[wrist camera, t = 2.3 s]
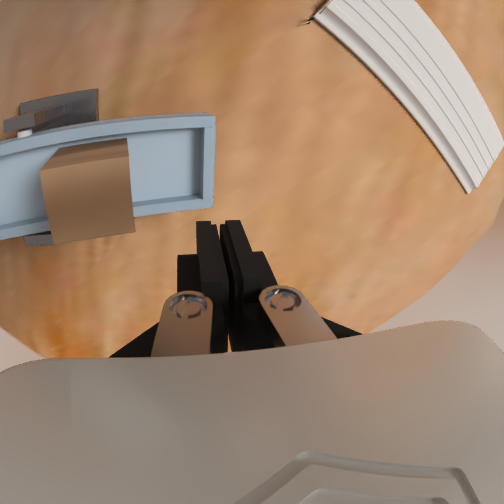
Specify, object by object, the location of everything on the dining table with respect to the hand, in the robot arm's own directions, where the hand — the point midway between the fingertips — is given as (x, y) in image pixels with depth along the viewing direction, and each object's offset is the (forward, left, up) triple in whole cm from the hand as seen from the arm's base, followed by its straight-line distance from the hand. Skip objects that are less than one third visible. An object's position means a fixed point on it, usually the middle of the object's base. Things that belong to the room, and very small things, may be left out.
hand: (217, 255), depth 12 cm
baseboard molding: (-10, +25, -18) cm, 32 cm away
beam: (0, -13, -11) cm, 17 cm away
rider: (-1, -8, -11) cm, 14 cm away
